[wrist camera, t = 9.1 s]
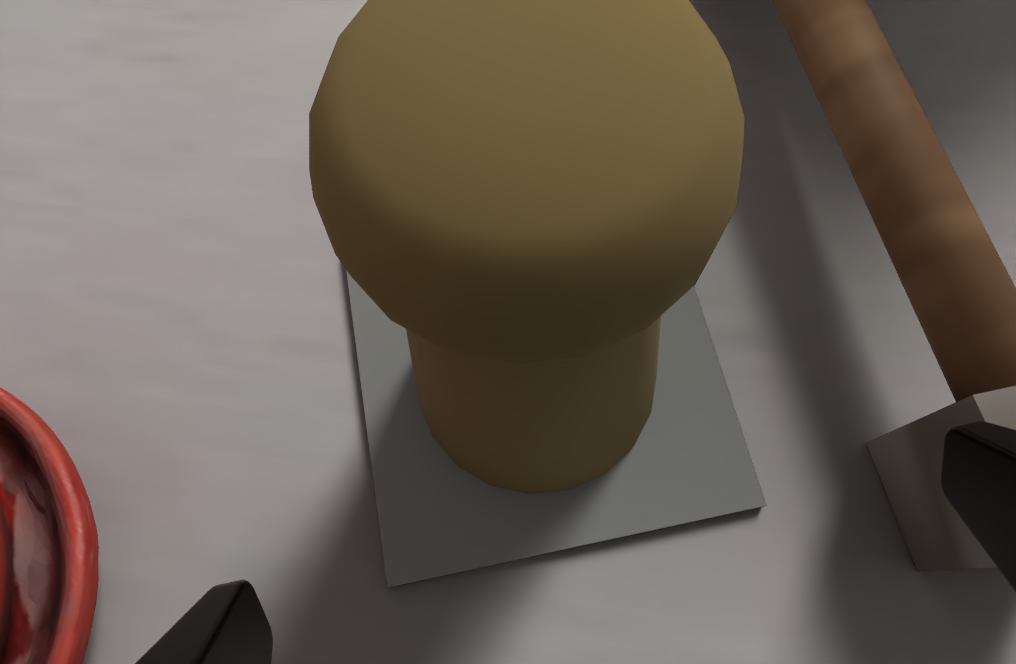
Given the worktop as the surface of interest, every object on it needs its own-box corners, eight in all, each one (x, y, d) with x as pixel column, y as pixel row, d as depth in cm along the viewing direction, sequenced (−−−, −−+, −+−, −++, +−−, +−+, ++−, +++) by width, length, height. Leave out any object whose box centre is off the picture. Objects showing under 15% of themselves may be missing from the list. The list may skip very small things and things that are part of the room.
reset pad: (762, 506, 16) (767, 505, 16) (389, 587, 16) (386, 587, 16) (657, 188, 19) (659, 181, 19) (346, 252, 19) (342, 245, 19)
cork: (374, 341, 18) (132, 3, 7) (566, 224, 19) (592, -223, 8) (498, 545, 16) (410, 477, 5) (706, 404, 17) (970, 115, 6)
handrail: (1043, 543, 15) (1223, 526, 11) (917, 571, 15) (1052, 564, 11) (737, -113, 23) (778, -263, 19) (652, -96, 23) (675, -243, 19)
